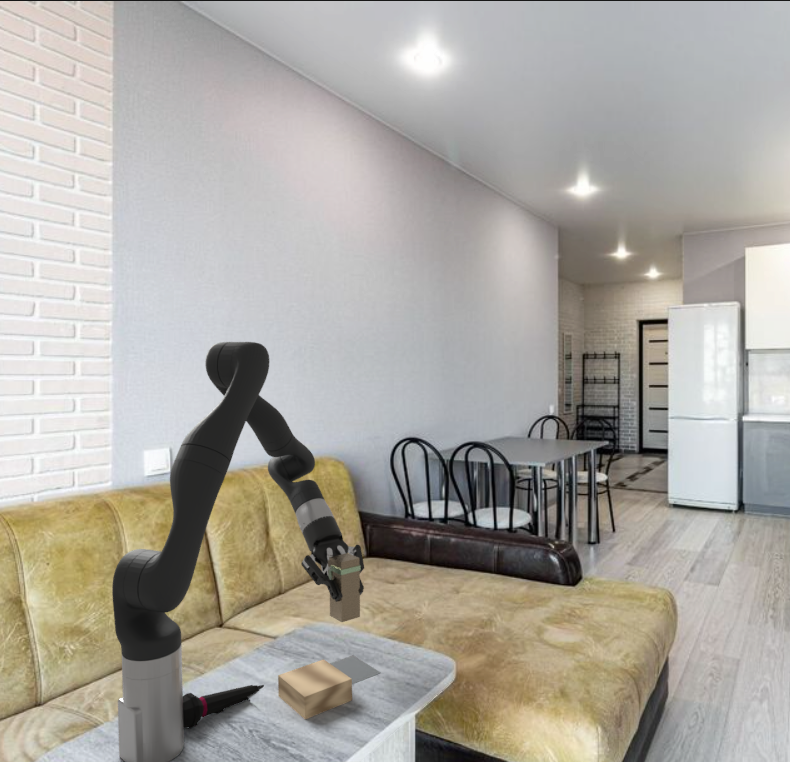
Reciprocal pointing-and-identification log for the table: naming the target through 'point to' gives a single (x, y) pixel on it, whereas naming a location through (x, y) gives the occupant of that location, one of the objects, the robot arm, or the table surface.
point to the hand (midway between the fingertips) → (350, 596)
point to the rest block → (314, 688)
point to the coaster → (355, 668)
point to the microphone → (213, 703)
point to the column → (346, 587)
